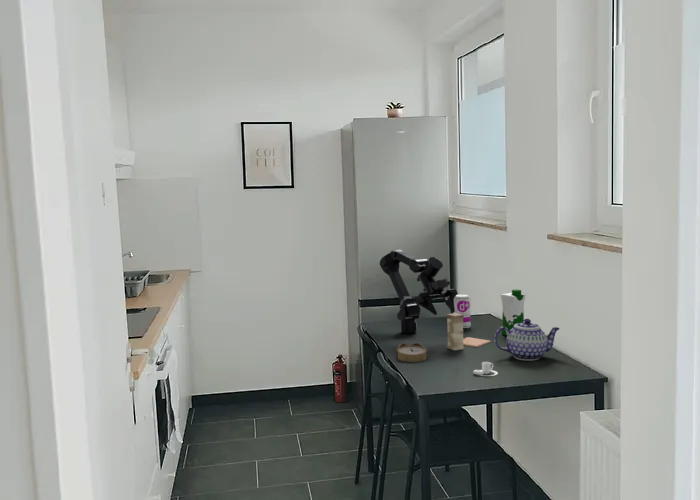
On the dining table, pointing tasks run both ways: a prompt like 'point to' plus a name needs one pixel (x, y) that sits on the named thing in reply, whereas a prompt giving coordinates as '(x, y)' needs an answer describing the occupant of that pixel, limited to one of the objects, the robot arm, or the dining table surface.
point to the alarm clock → (411, 352)
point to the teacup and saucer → (485, 369)
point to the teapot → (527, 340)
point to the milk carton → (512, 309)
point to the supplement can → (463, 308)
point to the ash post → (455, 331)
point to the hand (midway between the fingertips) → (445, 313)
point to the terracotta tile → (474, 342)
